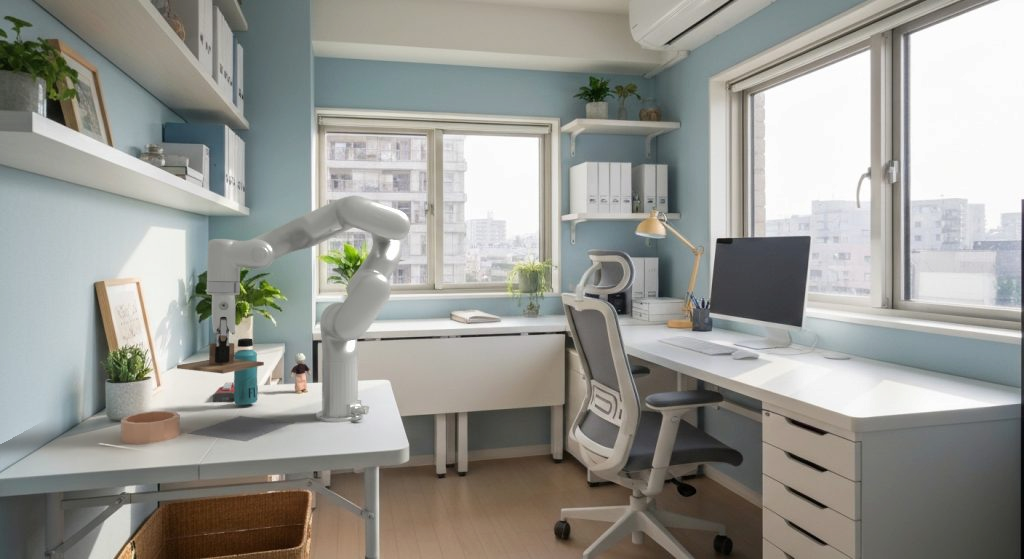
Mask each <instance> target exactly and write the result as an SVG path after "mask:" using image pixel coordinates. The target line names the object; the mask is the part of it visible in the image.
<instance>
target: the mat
mask: <svg viewBox="0 0 1024 559" xmlns="http://www.w3.org/2000/svg"><path fill="white" fill-rule="evenodd" d="M295 423H296V422H295V421H288V420H287V421H286V420H278V419H270V418H261V417H253V416H252V417H251V416H243V415H239V416H236V417H233V418H229V419H227V420H224V421H220V422H218V423H215V424H211V425H208V426H205V427H202V428H199V429H196V430H192V431H190V432H187V434H189V435H197V436H204V437H209V438H219V439H226V440H233V441H242V442H248V441H251V440H253V439H254V440H255V439H256V438H260V437H261V436H263V435H266V434H269V433H272V432H274V431H278V430H279V429H282V428H286V427H287V426H290V425H292V424H295Z"/></svg>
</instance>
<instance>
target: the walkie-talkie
mask: <svg viewBox="0 0 1024 559" xmlns="http://www.w3.org/2000/svg"><path fill="white" fill-rule="evenodd" d="M212 402H213V403H233V402H234V382H225V383H224V385H223V386H220V387H218V389H216V391H215V392H214V393H213V394H212ZM234 403H235V402H234Z"/></svg>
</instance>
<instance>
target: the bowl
mask: <svg viewBox="0 0 1024 559" xmlns="http://www.w3.org/2000/svg"><path fill="white" fill-rule="evenodd" d="M180 434H181V414H180V413H178V412H176V411H172V410H171V411H169V410H158V411H157V410H153V411H152V410H151V411H143V412H137V413H134V414H131V415H126V416H124V417H123V418H121V419H120V439H121V441H122V442H123V443H127V444H132V445H135V444H136V445H139V444H140V445H141V444H151V443H152V444H153V443H160V442H164V441H168V440H171V439H174V438H176V437H177V436H179V435H180Z"/></svg>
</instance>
